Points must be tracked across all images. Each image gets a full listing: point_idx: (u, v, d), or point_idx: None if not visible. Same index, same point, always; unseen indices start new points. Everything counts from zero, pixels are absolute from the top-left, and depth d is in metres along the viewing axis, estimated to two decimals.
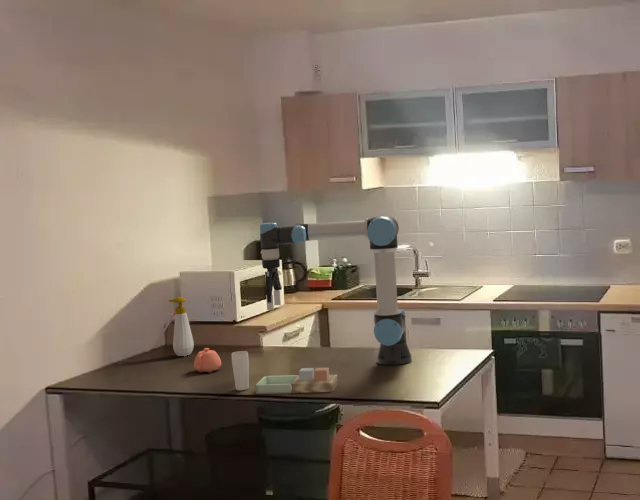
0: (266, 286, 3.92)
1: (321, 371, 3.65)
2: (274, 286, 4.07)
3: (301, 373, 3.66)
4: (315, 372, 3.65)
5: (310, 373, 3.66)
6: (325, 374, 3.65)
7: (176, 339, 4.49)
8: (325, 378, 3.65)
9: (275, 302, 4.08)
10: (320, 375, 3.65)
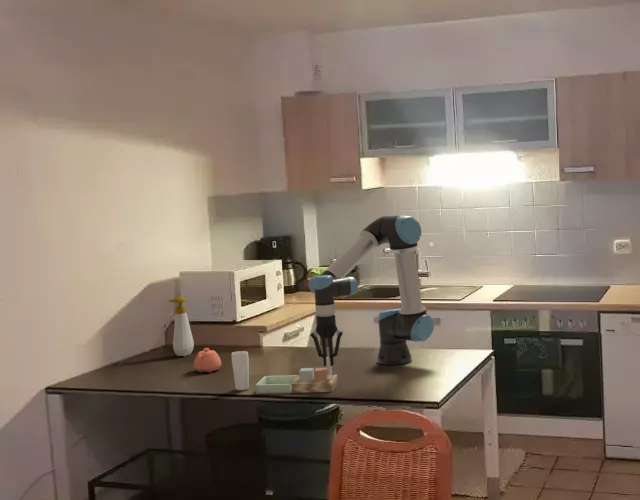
0: None
1: (321, 371, 3.65)
2: None
3: (301, 373, 3.66)
4: (315, 372, 3.65)
5: (310, 373, 3.66)
6: (325, 374, 3.65)
7: (176, 339, 4.49)
8: (325, 378, 3.65)
9: None
10: (320, 375, 3.65)
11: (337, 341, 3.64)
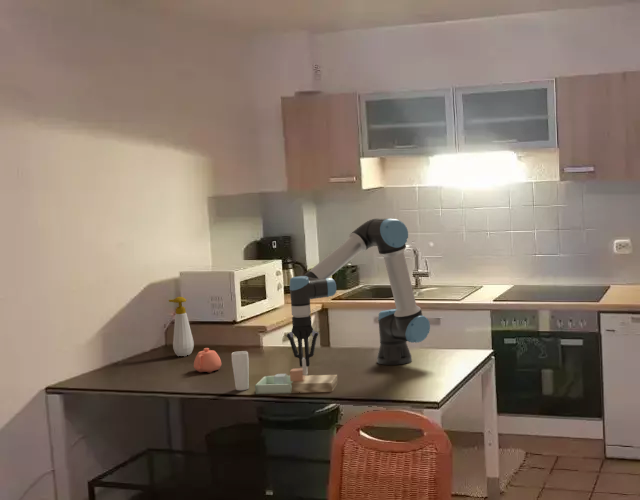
0: None
1: (297, 372, 3.67)
2: None
3: None
4: (291, 373, 3.67)
5: (276, 377, 3.68)
6: (301, 375, 3.67)
7: (176, 339, 4.49)
8: (301, 379, 3.67)
9: None
10: (296, 376, 3.67)
11: (313, 342, 3.66)
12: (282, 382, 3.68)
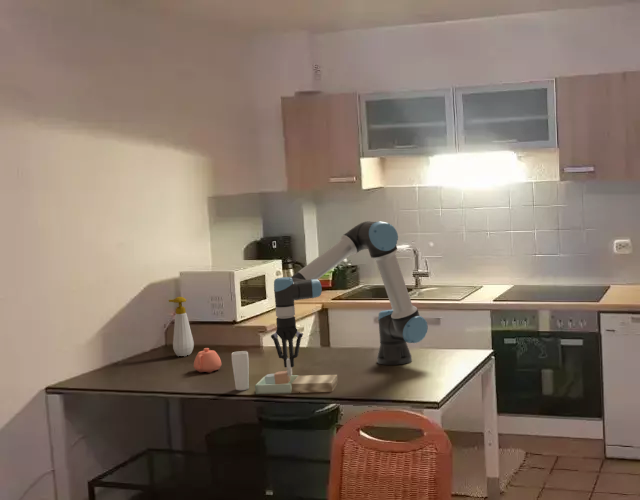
0: None
1: (281, 374, 3.68)
2: None
3: None
4: (275, 376, 3.68)
5: (267, 377, 3.69)
6: (285, 377, 3.68)
7: (176, 339, 4.49)
8: (285, 381, 3.68)
9: None
10: (280, 378, 3.68)
11: (297, 343, 3.67)
12: (273, 382, 3.69)
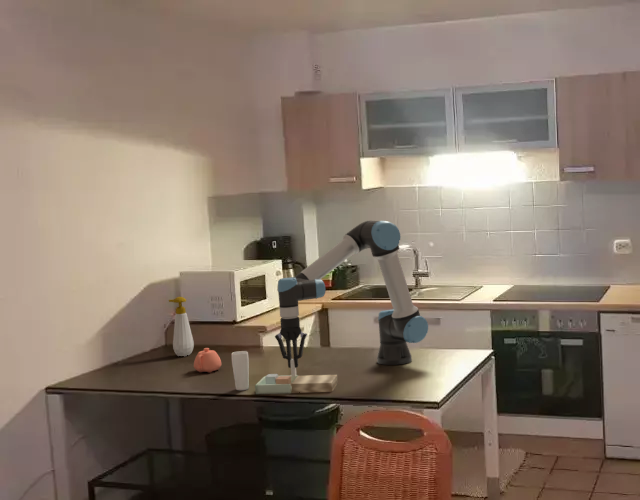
0: None
1: (283, 379, 3.68)
2: None
3: None
4: (277, 380, 3.69)
5: (268, 378, 3.69)
6: (287, 382, 3.68)
7: (176, 339, 4.49)
8: None
9: None
10: (282, 383, 3.68)
11: (301, 343, 3.67)
12: (274, 382, 3.69)
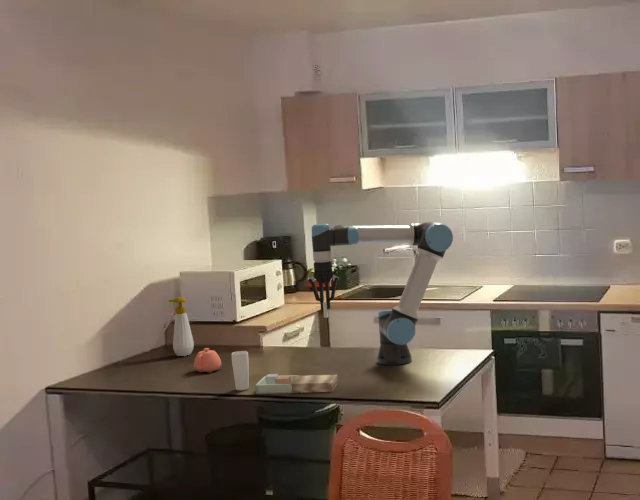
0: None
1: (283, 379, 3.68)
2: None
3: None
4: (277, 380, 3.69)
5: (268, 378, 3.69)
6: (287, 382, 3.68)
7: (176, 339, 4.49)
8: None
9: None
10: (282, 383, 3.68)
11: (333, 286, 3.86)
12: (274, 382, 3.69)
